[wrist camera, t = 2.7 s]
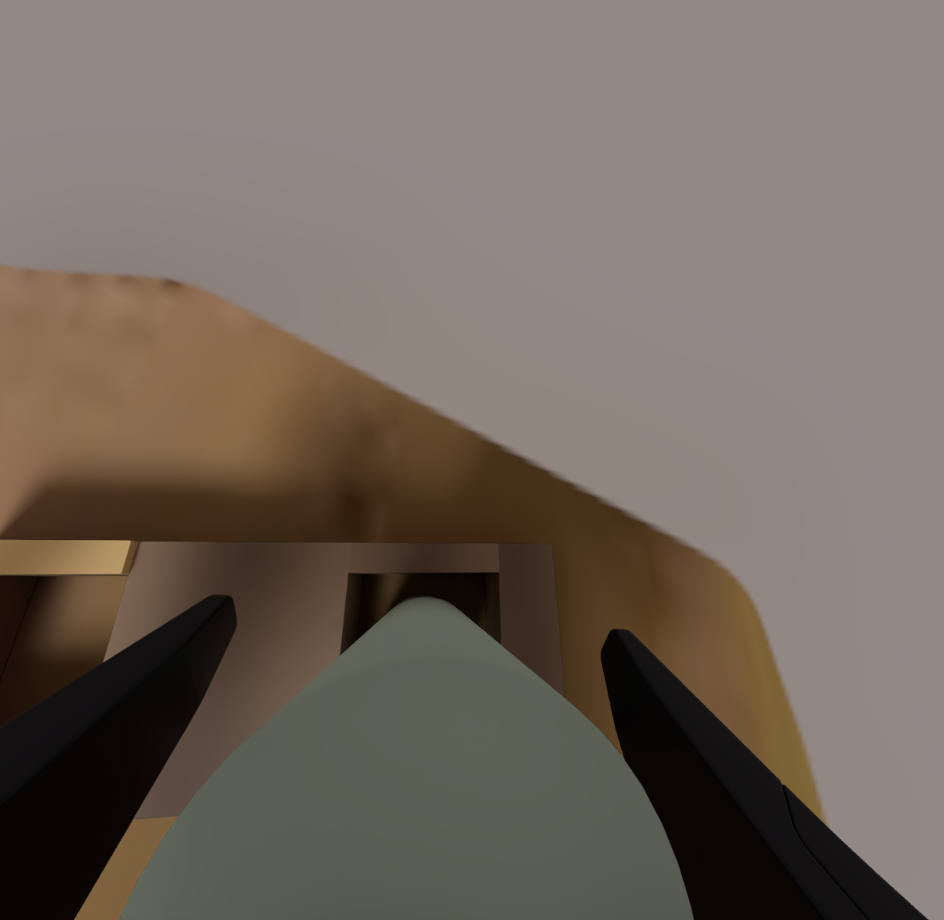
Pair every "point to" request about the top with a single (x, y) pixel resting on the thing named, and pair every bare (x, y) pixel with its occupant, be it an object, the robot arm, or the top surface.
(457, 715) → the post
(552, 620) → the brown slotted board
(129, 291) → the top surface
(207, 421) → the top surface
